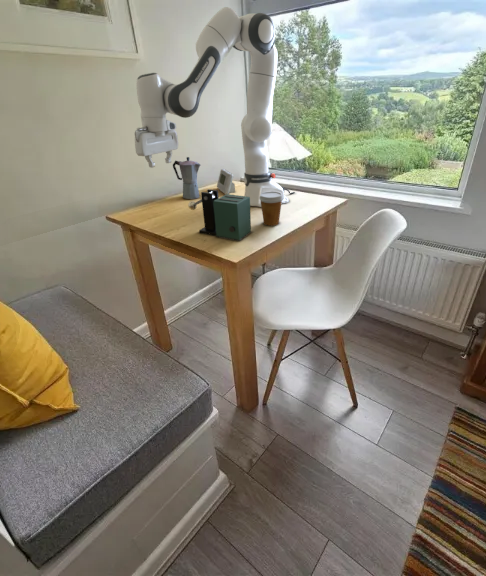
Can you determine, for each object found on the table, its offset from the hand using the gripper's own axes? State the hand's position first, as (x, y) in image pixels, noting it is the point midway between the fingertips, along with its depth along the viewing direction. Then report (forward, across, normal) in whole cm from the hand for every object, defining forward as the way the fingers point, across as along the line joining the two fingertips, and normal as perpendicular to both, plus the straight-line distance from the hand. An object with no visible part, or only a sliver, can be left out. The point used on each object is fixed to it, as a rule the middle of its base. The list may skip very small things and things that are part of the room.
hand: (160, 165), depth 126 cm
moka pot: (+24, +35, +15) cm, 45 cm away
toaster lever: (+13, -1, -19) cm, 23 cm away
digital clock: (+23, +52, +3) cm, 57 cm away
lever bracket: (+23, 0, -23) cm, 33 cm away
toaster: (+23, 0, -32) cm, 40 cm away
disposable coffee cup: (+23, +17, -41) cm, 49 cm away
